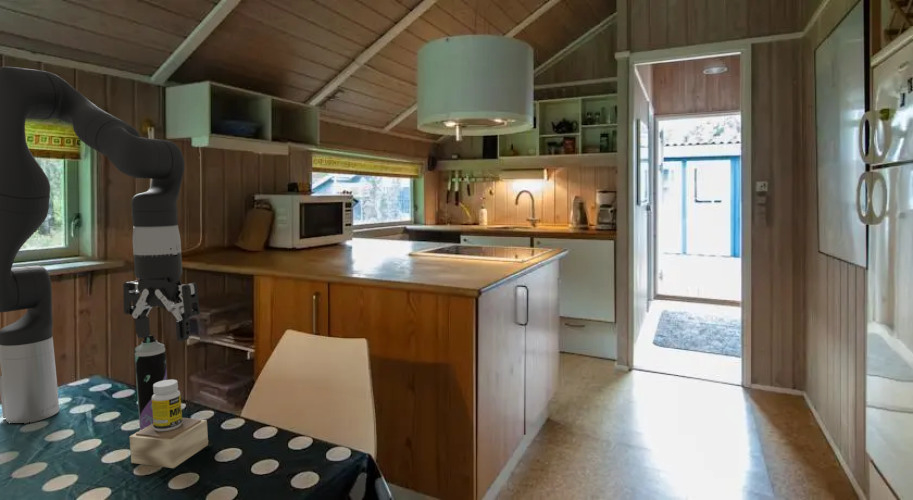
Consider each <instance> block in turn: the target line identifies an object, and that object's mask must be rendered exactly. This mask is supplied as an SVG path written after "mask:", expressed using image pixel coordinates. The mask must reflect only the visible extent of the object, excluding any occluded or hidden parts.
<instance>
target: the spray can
mask: <svg viewBox="0 0 913 500" xmlns="http://www.w3.org/2000/svg"><path fill="white" fill-rule="evenodd" d="M154 336H155V335H154V334H152V335H151V334H150V335H149V336H148V337H145V338H143V340H142V341H141V343H140V344H139V345H138V346H136V347H134V352H133V355H134V366H135V368H134V369H135V381H136V393H137V394H136V396H137V409H138V419H139V420H138V421H139V431H140V430H142V429H144V428H146V427H148V426H150V425H152V424H153V412H152V396H153V394H155V393H154V391H153V385H154V384H155V383H157V382H159V381H163V380H168V373H167V372H168V371H167V357H166V356H167V355H166V347H165V344H164V343H160V342H158V340H157V339H156V338H155V337H154Z"/></svg>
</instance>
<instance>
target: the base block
mask: <svg viewBox="0 0 913 500" xmlns="http://www.w3.org/2000/svg"><path fill="white" fill-rule="evenodd" d="M208 435H209V434H208V420H207V419H199V418H191V417H189V418H188V417H182V424H181V425H180V426H179V427H178V428H176V429H173V430H170V431H156V430H154V427H153V424H152V425H150V426H148V427H146V428H144V429H142V430H140V429H139V431H136V432H135V433H133V434H131V435H130V436H128V437H129V450H130V462H131V464H138V465H139V464H140V465H146V466H155V467H162V468H169V469H175V468H176V467H178V466H179V465H181V464H182V463H184V462H185V461H186V460H188V459H189V458H191V457H192V456H194V455H195V454H197V453H198V452H200V451H201V450H203V449H204V448H206V447H208V446H209V437H208Z"/></svg>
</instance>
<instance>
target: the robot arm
mask: <svg viewBox="0 0 913 500" xmlns="http://www.w3.org/2000/svg"><path fill="white" fill-rule="evenodd" d="M26 119H27V120H29V119H30V120H53V119H54V120H59V121H63V122H67V123H69V124H72V129H73V130H74V131H73V132H74V133H75V135H76V137H77V138H78V139H79V140H80V141H81V142H83V144H85V145H86V146H88V147H90V148H91V149H93V150H95V151H96V152H98V153H100V154H101V155H104V156H105V157H107V159H108V161H110V163H112V164H113V166H114V167H115V168H116V169H117V170H118V171H119V172H120V173H122V174H124V175H126V176H129V177H132V178H135V179H151V183H150V186H149V188H148V189H147V191H144V192H141V193H137V194H135V195H133V197H132V198H131V213H132V214H131V215H132V226H133V228H132V248H133V249H132V252H133V264H134V275H135V278H136V279H137V280H132V281H127V282H124V283H123V285H122V287H123V288H122V290H123V291H122V292H123V313H124V314H125V315H130V316H132V318H134V326H135V333H136V335H137V338H138V339H144V338H145V337H148V336H151V330H150V328H151V327H150V326H151V325H150V316H149V314H150V312H151V310H152V309H153V308H154V307H158V308H166V310H167V311H168V312H170V313H172V315H173V316H174V317H175V319H176V321H175V325H176V326H175V327H176V329H175V331H176V332H175V333H176V340H177V341H178V342H183V341H187V340H188V339H190V337H191V334H192V333H191V319H192V318H193V317H196V316H199V315H200V314H201V309H200V301H199V291H198V285H197V283H195V282H192V283H187V284H185V283H182V282H181V277H182V275H183V259H182V246H181V245H182V241H181V235H180V229H179V222H178V219H179V218H178V208H177V207H178V205H177V203H178V199H179V195H180V191H181V186H182V183H183V182H182V181H183V179H184V178H183V177H184V172H185V158H184V154H183V152H182V150H181V148H180V147H179V146H178V145H177V144H176V143H174V142H173V141H171V140H165V139H156V138H149V137H148V138H147V137H141V135H140V133H139V131H138V130H137V128H135V127H134V126H132V125H130V124H129V123H127V122H125V121H124V120H122V119H120V118H118V117H116V116H114V115H112V114H110V113H109V112H107V111H105V110H104V109H101V108H100V107H98V106H97V105H96V104H94V103H93V102H91V101H90V100H89V98H87V97H85V96H84V95H83V94H82V93H81V92H79V90H77V89H76V88H75V87H73V86H72V85H71V84H70V83H69V82H67V81H66V80H65V79H64V78H62V77H61V76H59V75H57V74H55V73H53V72H50V71H46V70H39V69H31V68H24V67H15V66H1V67H0V313H9V312H13V311H14V312H16V311H20V310H26V312H25V314H24V315H22V317H20V318H19V319H17V320H16V321H15V322H13V323H10V324H8V325H6V326H4V327H2V328H1V329H0V372H1V376H0V400H1V411H2V419H3V418H6V419H5V420H6V421H7V422H10V423H24V424H30V423H35V422H39V421H43V420H45V419H48V418H50V417H53V416H54V415H56V414H57V413H59V412H60V404H59V389H58V380H57V369H56V368H57V367H56V357H55V347H54V339H53V336H54V335H53V324H54V323H53V321H54V319H53V293H52V292H53V290H52V281H51V277H50V274H49V272H48V270H47V269H46V268H45V267H44V266H42V265H26V266H24V265H23V266H18V267H17V266H15V267H13V264H14V262H15V258H16V257H17V254H18V253H19V251H20V250H21V248H22V247H23V246H24V245H25V243H26V242H27V241H28V240H29V239H30V238H31V237H32V236H33V235H34V233H35V232H37V230H38V229H39V228H40V227H41V225H43V223H44V221H45V220H46V218H47V216H48V214H49V209H50V199H51V197H50V196H51V185H50V184H51V183H50V180H49V178H48V176H47V174H46V172H45V171H44V170H43V168H42V167H41V165H40V164H39V162H38V161H37V159H36V158H35V157H34V155H33V153H32V152H31V150H30V148H29V146H28V143H27V138H26V137H27V136H26ZM6 421H5V422H6ZM7 422H6V423H7ZM29 422H30V423H29ZM10 423H9V424H10Z"/></svg>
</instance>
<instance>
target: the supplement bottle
mask: <svg viewBox="0 0 913 500" xmlns="http://www.w3.org/2000/svg"><path fill="white" fill-rule="evenodd" d="M153 391H154V393H155V394H153V396H152V412H153V427H154V430H156V431H170V430H173V429H176V428H178V427H179V426H180V425H181V424H182V418H183V414H182V397H181V396H182V395H181V391H180V390H179V384H178V380H177V379H167V380H163V381H159V382H157V383H155V384H154V385H153Z"/></svg>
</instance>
